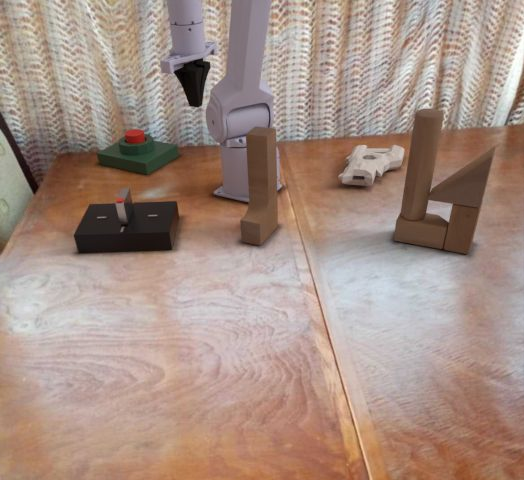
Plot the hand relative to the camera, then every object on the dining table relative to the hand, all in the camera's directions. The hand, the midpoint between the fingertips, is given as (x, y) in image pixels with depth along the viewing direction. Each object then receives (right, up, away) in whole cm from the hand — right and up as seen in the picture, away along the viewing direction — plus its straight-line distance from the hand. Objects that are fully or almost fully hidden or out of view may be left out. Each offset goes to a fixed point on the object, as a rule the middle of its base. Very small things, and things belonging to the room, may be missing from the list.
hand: (195, 105), depth 100 cm
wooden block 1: (+12, -28, -18) cm, 35 cm away
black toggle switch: (-8, -28, -17) cm, 33 cm away
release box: (-12, -8, +6) cm, 15 cm away
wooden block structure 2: (+37, -30, -21) cm, 53 cm away
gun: (+32, -13, -2) cm, 35 cm away
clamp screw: (-8, -25, -19) cm, 33 cm away
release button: (-12, -5, +3) cm, 14 cm away
